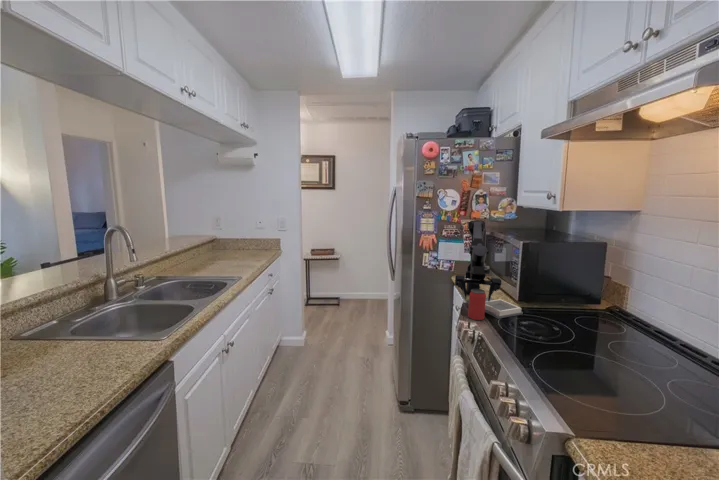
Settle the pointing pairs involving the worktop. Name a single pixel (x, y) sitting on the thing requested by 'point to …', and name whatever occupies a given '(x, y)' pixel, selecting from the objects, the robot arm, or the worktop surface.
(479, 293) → the beer can
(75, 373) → the worktop surface
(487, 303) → the plate
